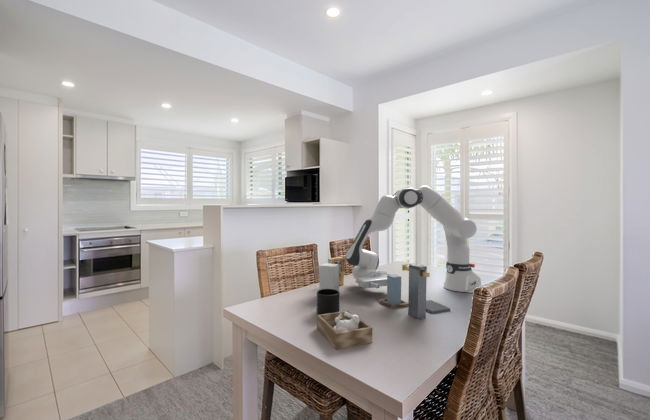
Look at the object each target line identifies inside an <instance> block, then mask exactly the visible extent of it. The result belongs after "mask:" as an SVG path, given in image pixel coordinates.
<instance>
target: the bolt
mask: <svg viewBox="0 0 650 420" xmlns="http://www.w3.org/2000/svg"><path fill="white" fill-rule="evenodd" d="M401 269H402V270H401V271H407V272H409V264H405V263H404V264H402V265H401ZM421 275H422V276H425V277H427V278H430V275H431V274H430V272H429V271H427V272H426V271H422V270H421Z"/></svg>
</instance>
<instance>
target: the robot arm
mask: <svg viewBox="0 0 650 420" xmlns="http://www.w3.org/2000/svg"><path fill="white" fill-rule="evenodd" d="M418 205H419V206H421V207H422V208H423V210H425V211H426V212H427V213H428V214H429V215H430V216H431V217H432V218H433V219H434V220H435V221H437V222H438V223H440V224H441V225H442V227H443V231H444V233H445V242H446V247H447V251H446V253H447V254H446V255H447V257H446V258H447V259H446V264H445V268H446V271H445V278H444V279H445V280H444V282H443V285H442V286H443V289H447V290H449V291H453V292H461V293H462V292H463V293H470V294H473V293H474V292H473V290H474V289H475V288H476V287H479V286H484V285H483V284H482V280H481V277H480V276H479V275H478V274H477V273H476V272H474V271H473V270H472V269H473V268H475V267H476V265H475V263H470V247H469V245H468V240H467V239H470V238H472V237H474V235H475V234H476V233H477V230H478V229H477V225H476V223H475V221H474V220H471V219H469V217H467V216H466V215H464V214H463V213H462V212H461V211H459V209H457V208H455V207H454V206H453V205H451V204H450V203H449V202H448V201H447V200H446V199H445V198H444V197H443V196H442V195H441V194H440V193H438V191H436V190H434V189H433V188H432V187H430V186H428V185H421V186H420V187H418V188H413V187H405V188H404V187H403V188H401V189H399V190H397V191H396V192H395V193H393V194H392V195H390V194H384V195H382V196H381V198H380V199H379V201H378V202H377V205H376V207H375V209H374V211H373V214H372V215H371V217H370V218H368V219H366V220H365V221H364V222H363V224H362V225H361V227H360V228H359V231H358V233H357V235H356V236H355V238H354V240H353V242H352V243H351V245H350V246H349V248H348V249H347V250H346V253H345V259H346V262H347V263H348V265H350V266H353V268H352V269H351V275H352V277H353V278H354V279H355V283H357V285H358V287H360V288H362V289H380V287H387V275H392V274H390V273H387V271H384V270H382V271H381V270H378V268H379V264H380V259H379V255H378V254H377V253H376V252H374V251H372V250H367V249H365V248H362V247H363V245H364V244H365V241H366V240H367V238H368V236H369V235H370V234H371V233H375V232H383V231H384V232H385V231H387V230H389V228H390V227H391V226H392V224H393V222H394V219H395V216H396V213H397V212H398V210H399V209H407V210H408V209H412V208H415V207H416V206H418Z"/></svg>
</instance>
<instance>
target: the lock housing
mask: <svg viewBox="0 0 650 420" xmlns="http://www.w3.org/2000/svg"><path fill="white" fill-rule="evenodd" d="M408 266H409V271H408V300H407V301H408V302H407V303H408V306H407V308H408V309H407V311H408V312H407V314H408V315H409V316H410V317H412V318H415V320H423V319H426V318H427V311H426V301H427V278H428V277H425V276H422V275H421V270H422V271H426V272H428V271H427V269H428V268H427V267H428V266H426V265H422V264H419V263H412V264H411V263H410V264H409V263H408Z"/></svg>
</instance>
